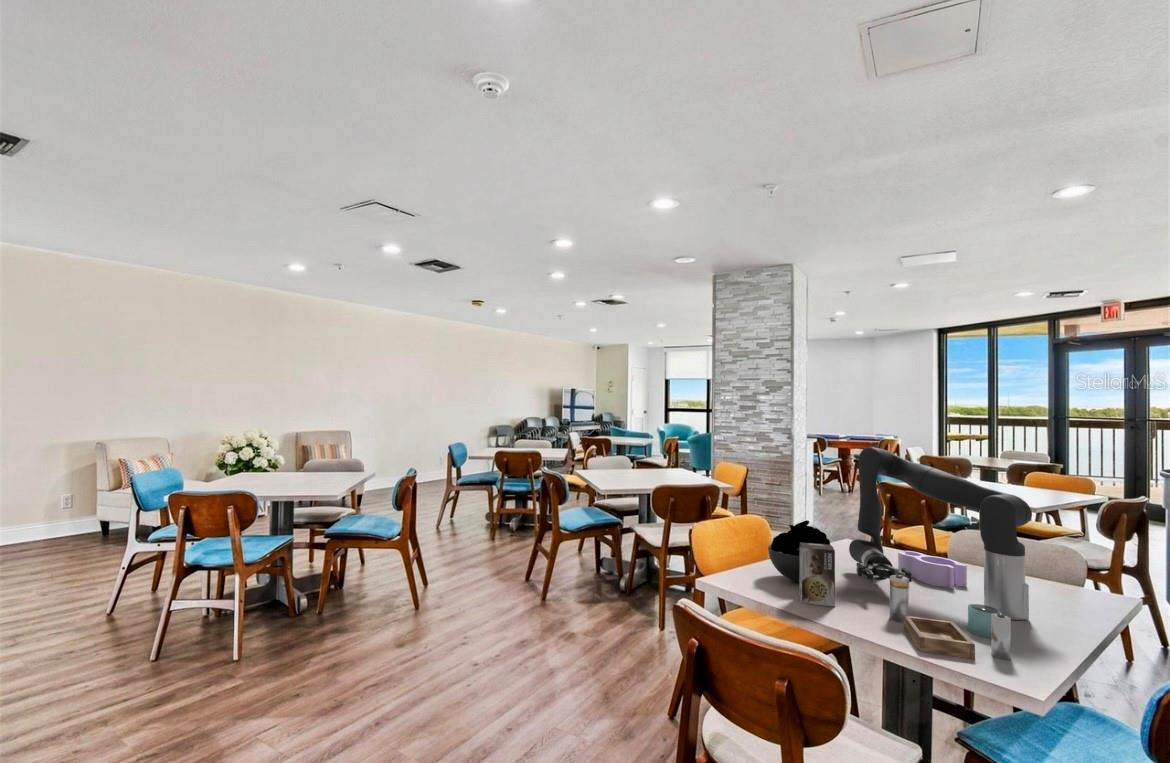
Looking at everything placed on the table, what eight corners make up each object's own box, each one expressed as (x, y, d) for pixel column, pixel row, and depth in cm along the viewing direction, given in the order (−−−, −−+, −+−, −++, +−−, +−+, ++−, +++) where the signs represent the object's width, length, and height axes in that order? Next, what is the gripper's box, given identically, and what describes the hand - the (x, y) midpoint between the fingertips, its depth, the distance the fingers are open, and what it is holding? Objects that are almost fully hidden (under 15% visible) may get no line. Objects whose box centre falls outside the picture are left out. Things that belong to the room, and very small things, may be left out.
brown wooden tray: (953, 635, 137) (953, 621, 137) (974, 659, 124) (974, 644, 124) (903, 628, 140) (904, 615, 141) (919, 651, 127) (919, 636, 127)
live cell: (906, 617, 148) (906, 574, 149) (910, 623, 144) (911, 578, 145) (887, 615, 150) (888, 572, 150) (891, 620, 145) (892, 576, 146)
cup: (994, 629, 142) (994, 605, 142) (1006, 640, 135) (1006, 615, 135) (963, 625, 144) (963, 602, 144) (974, 635, 137) (974, 611, 137)
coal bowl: (803, 595, 164) (804, 531, 165) (754, 575, 182) (755, 518, 183) (847, 586, 173) (848, 527, 174) (796, 569, 191) (797, 515, 192)
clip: (890, 572, 192) (890, 552, 192) (913, 569, 197) (913, 549, 197) (947, 590, 174) (947, 568, 174) (972, 586, 179) (972, 565, 179)
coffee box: (831, 600, 160) (832, 544, 161) (835, 607, 154) (836, 549, 155) (798, 596, 163) (799, 541, 164) (800, 603, 157) (801, 546, 157)
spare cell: (1006, 654, 127) (1006, 612, 127) (1013, 661, 123) (1013, 617, 124) (988, 651, 128) (988, 610, 128) (995, 658, 124) (995, 615, 125)
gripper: (852, 549, 176) (861, 563, 160) (901, 554, 172) (916, 569, 156) (851, 573, 176) (861, 589, 160) (901, 579, 171) (916, 596, 156)
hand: (888, 579), depth 158 cm, fingers open, 8 cm apart
